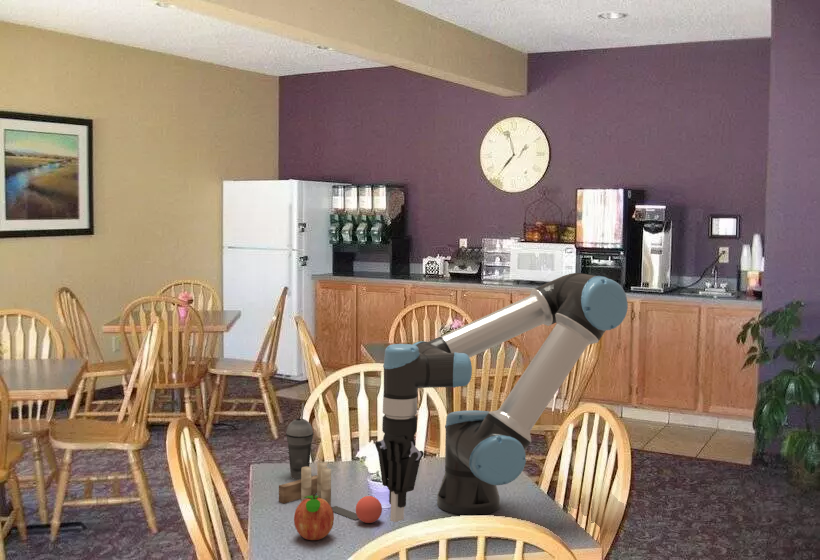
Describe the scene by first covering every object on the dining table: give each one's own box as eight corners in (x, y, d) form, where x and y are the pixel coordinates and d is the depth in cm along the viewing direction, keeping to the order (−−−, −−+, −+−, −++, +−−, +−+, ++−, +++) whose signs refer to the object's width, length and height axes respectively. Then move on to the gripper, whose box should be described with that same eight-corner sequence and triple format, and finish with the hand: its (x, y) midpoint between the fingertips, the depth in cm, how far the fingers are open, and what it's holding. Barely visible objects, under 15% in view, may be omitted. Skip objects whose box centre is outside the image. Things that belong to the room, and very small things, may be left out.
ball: (386, 520, 208) (386, 494, 207) (374, 528, 202) (374, 502, 202) (362, 516, 210) (363, 491, 210) (350, 524, 205) (351, 498, 204)
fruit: (334, 530, 201) (335, 486, 200) (332, 546, 192) (332, 500, 191) (296, 530, 201) (296, 486, 200) (291, 546, 192) (291, 500, 191)
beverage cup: (298, 470, 244) (299, 398, 242) (319, 476, 240) (319, 402, 238) (279, 477, 238) (280, 403, 237) (300, 482, 234) (300, 407, 232)
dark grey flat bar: (364, 517, 210) (364, 516, 210) (355, 520, 207) (355, 519, 207) (335, 506, 216) (335, 505, 216) (326, 509, 214) (326, 508, 214)
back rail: (316, 490, 228) (316, 475, 228) (321, 492, 227) (321, 476, 226) (278, 501, 220) (278, 485, 219) (283, 503, 218) (283, 487, 218)
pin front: (332, 505, 217) (332, 469, 216) (327, 508, 215) (328, 471, 214) (323, 504, 218) (324, 467, 217) (319, 507, 216) (319, 470, 215)
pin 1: (313, 503, 218) (313, 467, 218) (308, 506, 216) (308, 469, 215) (304, 502, 219) (304, 465, 219) (299, 505, 217) (299, 468, 216)
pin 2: (328, 498, 222) (328, 463, 221) (323, 501, 220) (324, 465, 219) (320, 497, 223) (320, 461, 222) (315, 500, 221) (315, 464, 220)
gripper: (433, 418, 196) (430, 523, 198) (391, 407, 205) (388, 508, 207) (409, 423, 190) (406, 532, 192) (366, 412, 199) (364, 516, 201)
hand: (397, 519), depth 200 cm, fingers closed
